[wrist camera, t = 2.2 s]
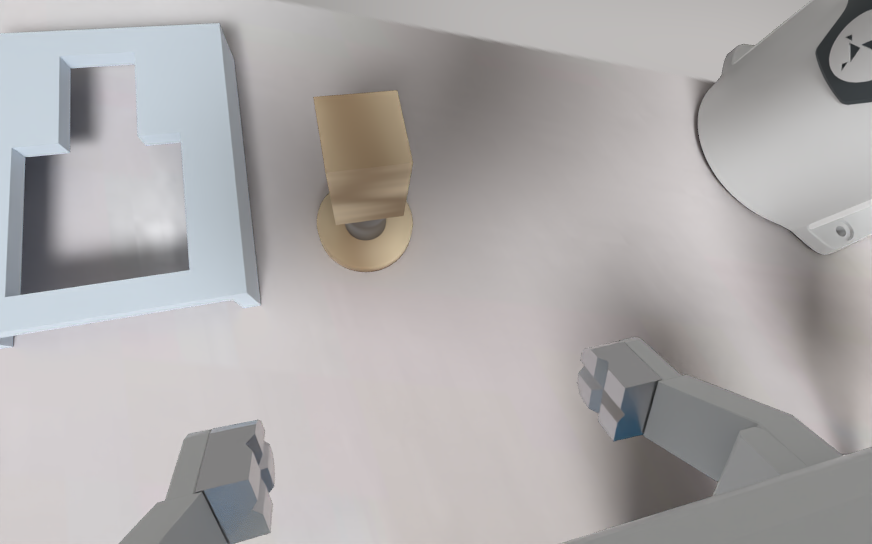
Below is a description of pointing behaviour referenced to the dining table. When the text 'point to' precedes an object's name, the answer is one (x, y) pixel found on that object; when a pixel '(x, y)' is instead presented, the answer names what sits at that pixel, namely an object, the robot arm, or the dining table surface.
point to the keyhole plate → (156, 124)
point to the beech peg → (364, 179)
